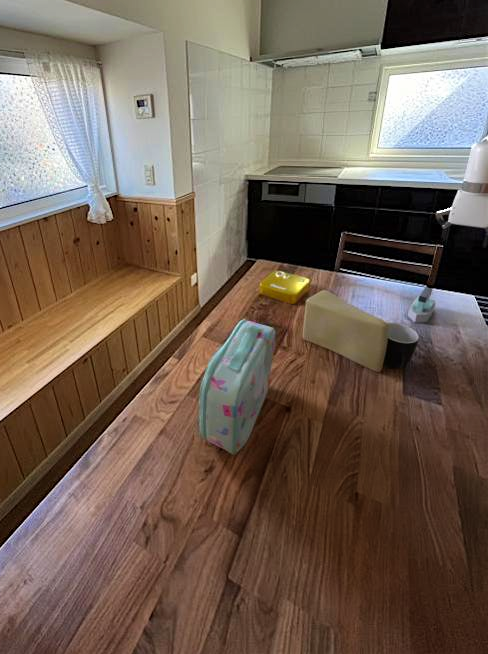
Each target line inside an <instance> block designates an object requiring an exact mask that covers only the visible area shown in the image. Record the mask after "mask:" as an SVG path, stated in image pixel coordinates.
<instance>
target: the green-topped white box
mask: <svg viewBox="0 0 488 654" xmlns="http://www.w3.org/2000/svg"><path fill="white" fill-rule="evenodd" d="M432 292H433V288H428V287H424V288H423V290H422V292H421V293H420V294H419V295H418V296H417V297H416V298H415V299H414V301H413V302H412V303H411V305H410V306H409V308H408V312H407V317H408V318H409V319H411V321H412V322H413V323H416V324H417V323H427V322H428V321H429V319H430V318H431V316H432V315H433V312H434V311H435V307H436V300H435V299H431V298H430V297H431V295H432Z"/></svg>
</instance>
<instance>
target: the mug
mask: <svg viewBox="0 0 488 654" xmlns="http://www.w3.org/2000/svg"><path fill="white" fill-rule="evenodd" d="M386 323H387V324H388V327H389V328H388V340H387V348H386V353H385V358H384V362H383V366H384V367H386V368H388V369H392V370H399V371H404V370H406V369H407V367H408V364H409V363H410V361H411V359H412V357H413V355H414V353H415V351H416V348H417V346H418V343H419V338H420V337H419V334H418V333H417V331H416V330H415V329H413V328H412V327H410V326H408V325H406V324H403V323H399V322H386Z"/></svg>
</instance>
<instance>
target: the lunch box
mask: <svg viewBox="0 0 488 654" xmlns="http://www.w3.org/2000/svg"><path fill="white" fill-rule="evenodd" d="M275 345H276V329H275V328H274V327H271V326H268V325H266V324H261V323H257V322H254V321H252V320H248V319H246V318H243V319H241V320H240V321H239V322H238V323H237V324H236V326H235V327H234V329H233V330H232V332H231V334H230V335H229V337H228V338H227V339H226V341H225V342H224V343H223V345H222V346H221V347H220V348H219V349H218V350H217V351H216V352H215V354H214V355H213V356H212V357H211V359H210V360H209V362H208V364H207V366H206V369H205V372H204V375H203V379H202V381H201V383H200V389H199V416H198V417H199V418H198V430H199V434H200V437H201V438H202V439H203V440H204V441H206V442H209V443H210V444H213V445H215V446H216V447H218V448H221V449H222V450H225V451H226V452H228V453H229V454H231V455H237V454H238V453H239V452H240V451H241V449H242V448H243V447H244V446H245V445H246V444H247V442H248V440H249V438H250V436H251V434H252V431H253V429H254V427H255V424H256V421H257V419H258V416H259V414H260V412H261V409H262V407H263V404H264V402H265V399H266V397H267V394H268V389H269V385H270V382H271V381H270V380H271V373H272V364H273V359H274V351H275Z"/></svg>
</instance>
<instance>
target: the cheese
mask: <svg viewBox="0 0 488 654" xmlns="http://www.w3.org/2000/svg"><path fill="white" fill-rule="evenodd" d="M304 307H305V308H304V318H303V329H302V340H304V341H306V342H309V343H312V344H314V345H317V346H318V347H321V348H324V349H326V350H329V351H331V352H334V353H336V354H338V355H340V356H342V357H344V358H346V359H347V360H350V361H351V362H354V363H356V364H358V365H360V366H362V367H364V368H366V369H368V370H371V371H373V372H375V373H380V372H381V371H382V370H383V366H384V365H383V362H384V358H385V353H386V348H387V340H388V328H389V327H388V324H387V323H388V322H387V321H385V320H383V319H381V318H380V317H377V316H375V315H372V314H370V313H369V312H367V311H365V310H363V309H360V308H358V307H356V306H354V305H352V304H350V303H349V302H346V301H345V300H344V299H342V298H340V297H338V296H337V295H335V294H333V293H332V292H330V291H328V290H326V289H324V290H323V289H322V290H321V291H318V292H317V293H315V294H314V295H311V296H310V297H308V298H307V299H306V300H305V306H304Z"/></svg>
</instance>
